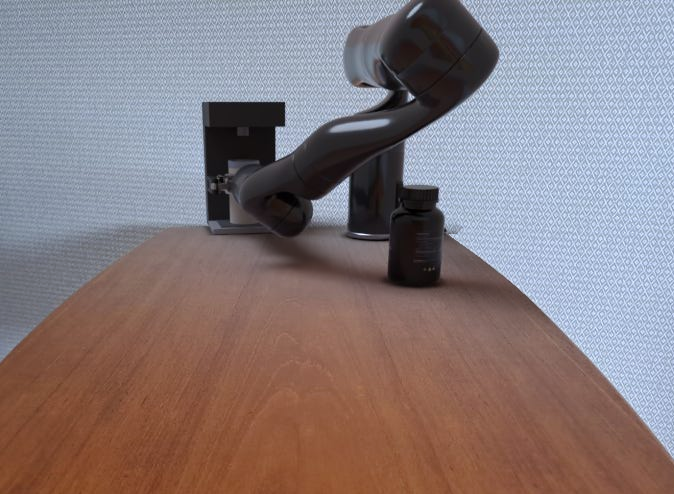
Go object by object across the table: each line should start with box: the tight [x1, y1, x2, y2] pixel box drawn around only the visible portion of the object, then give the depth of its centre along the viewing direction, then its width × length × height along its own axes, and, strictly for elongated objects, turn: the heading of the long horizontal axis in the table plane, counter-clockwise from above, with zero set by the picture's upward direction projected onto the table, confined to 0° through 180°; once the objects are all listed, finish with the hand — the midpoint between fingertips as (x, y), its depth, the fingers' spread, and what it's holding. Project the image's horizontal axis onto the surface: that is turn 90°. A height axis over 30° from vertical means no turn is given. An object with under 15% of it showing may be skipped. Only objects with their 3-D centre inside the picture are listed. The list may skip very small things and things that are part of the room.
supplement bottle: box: [386, 184, 446, 288], centre depth 86 cm, size 7×7×12 cm
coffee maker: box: [201, 101, 286, 235], centre depth 123 cm, size 13×13×22 cm
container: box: [228, 159, 259, 224], centre depth 124 cm, size 6×6×11 cm
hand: (243, 179), depth 124 cm, fingers open, 8 cm apart
